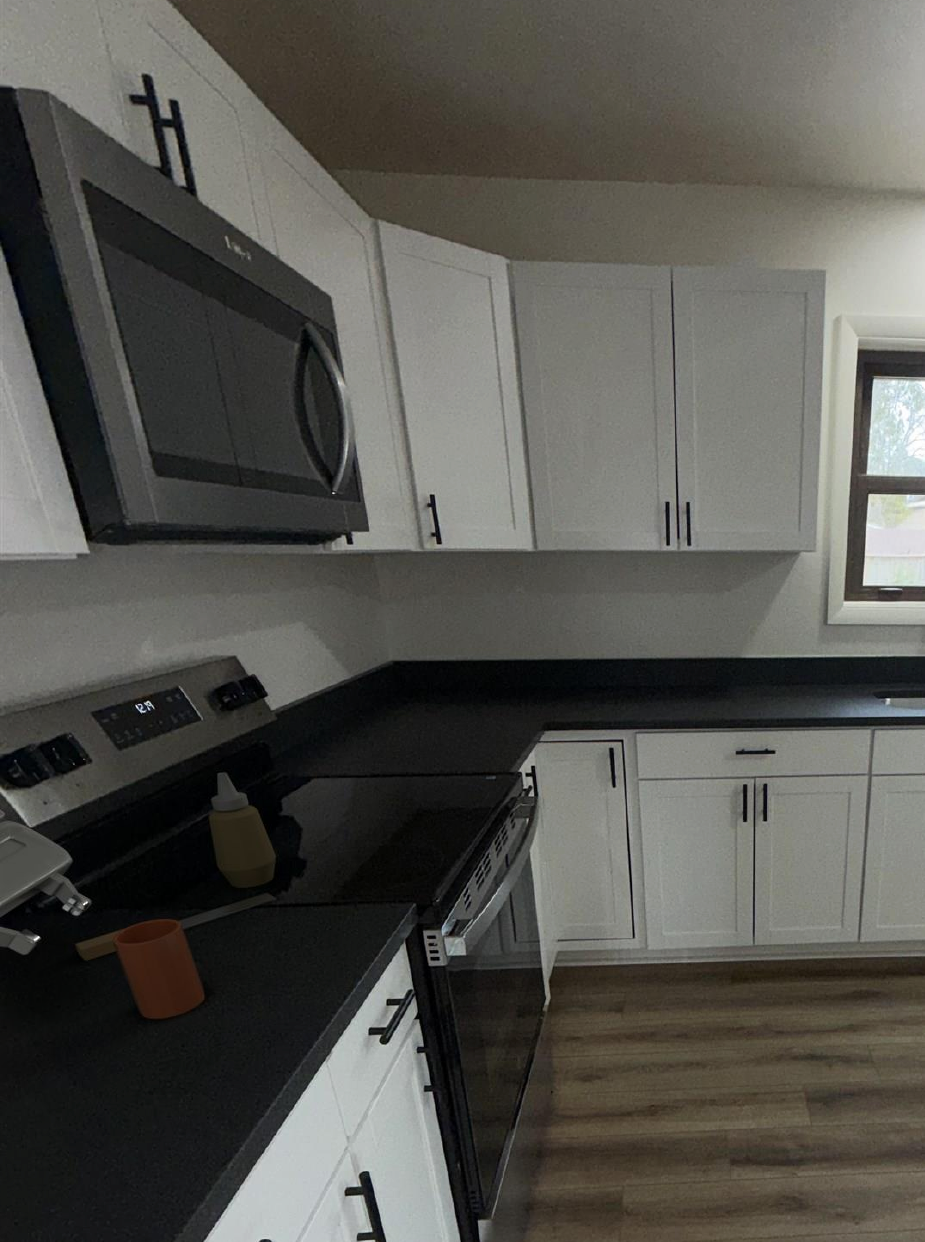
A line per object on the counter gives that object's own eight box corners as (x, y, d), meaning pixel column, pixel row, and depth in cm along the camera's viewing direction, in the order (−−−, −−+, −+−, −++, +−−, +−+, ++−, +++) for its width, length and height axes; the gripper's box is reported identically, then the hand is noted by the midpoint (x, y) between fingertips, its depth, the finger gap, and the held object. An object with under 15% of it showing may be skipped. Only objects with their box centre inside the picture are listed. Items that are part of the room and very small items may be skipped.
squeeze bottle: (284, 884, 126) (254, 775, 119) (225, 897, 122) (191, 784, 115) (278, 868, 132) (249, 763, 125) (222, 879, 128) (189, 771, 121)
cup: (153, 1027, 90) (124, 950, 86) (133, 1008, 94) (104, 934, 90) (214, 1003, 95) (189, 929, 91) (193, 986, 98) (168, 914, 94)
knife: (87, 963, 103) (82, 950, 103) (79, 956, 105) (74, 943, 104) (277, 901, 121) (273, 889, 120) (267, 896, 122) (264, 884, 122)
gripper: (-149, 866, 72) (15, 952, 77) (1, 799, 90) (124, 872, 96) (-183, 915, 73) (-19, 996, 78) (-28, 838, 91) (96, 908, 97)
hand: (61, 927), depth 87 cm, fingers open, 8 cm apart
